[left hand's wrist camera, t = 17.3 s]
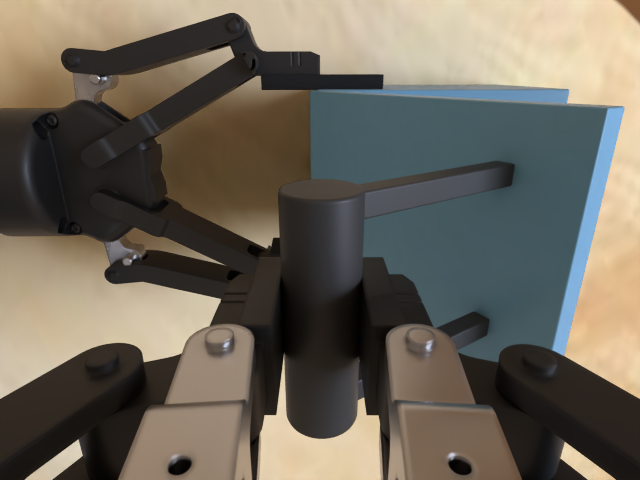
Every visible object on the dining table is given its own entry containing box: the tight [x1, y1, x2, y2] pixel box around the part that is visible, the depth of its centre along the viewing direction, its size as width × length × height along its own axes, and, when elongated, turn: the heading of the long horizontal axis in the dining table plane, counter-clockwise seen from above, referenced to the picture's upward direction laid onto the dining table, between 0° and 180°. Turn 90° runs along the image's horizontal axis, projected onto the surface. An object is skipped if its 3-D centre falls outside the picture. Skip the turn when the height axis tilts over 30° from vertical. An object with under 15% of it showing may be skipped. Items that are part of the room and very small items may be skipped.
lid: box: [278, 90, 624, 439], centre depth 16 cm, size 14×10×9 cm
